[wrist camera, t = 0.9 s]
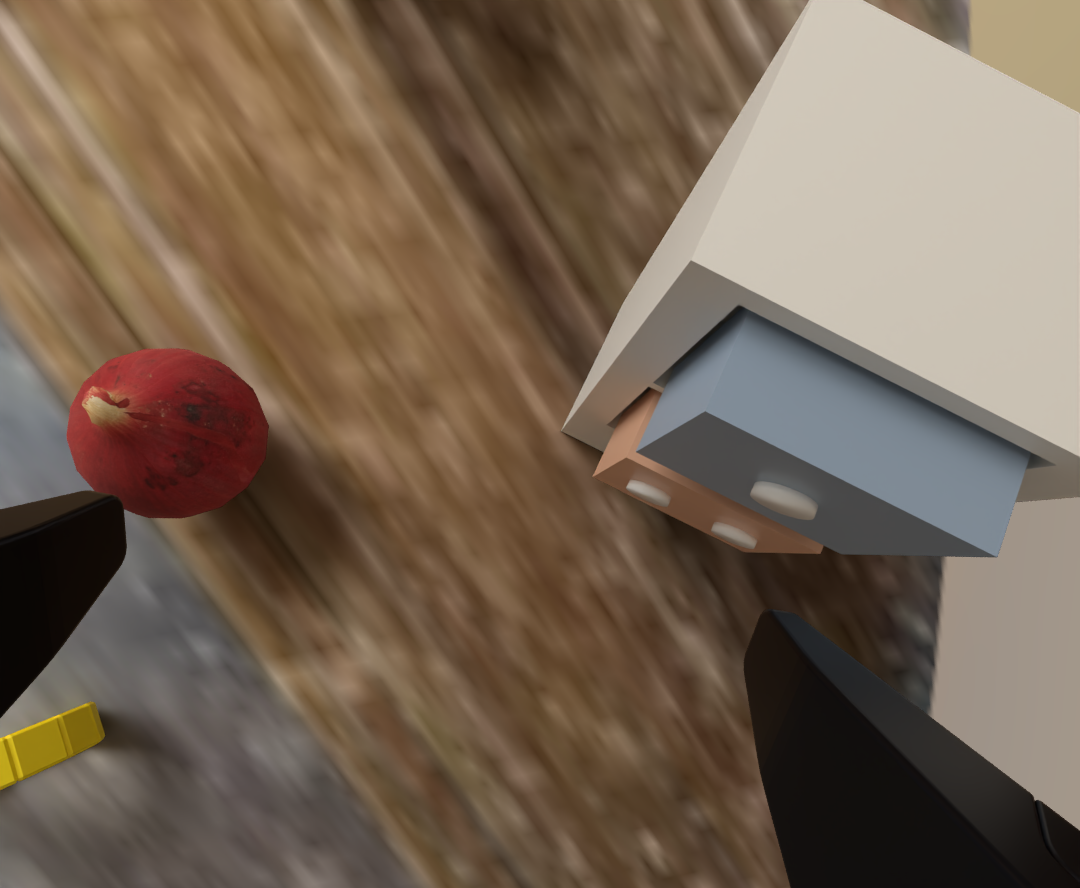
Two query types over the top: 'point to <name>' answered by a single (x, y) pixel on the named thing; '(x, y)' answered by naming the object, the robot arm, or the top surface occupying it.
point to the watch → (48, 743)
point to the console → (881, 237)
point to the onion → (167, 432)
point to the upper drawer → (832, 447)
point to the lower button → (688, 492)
